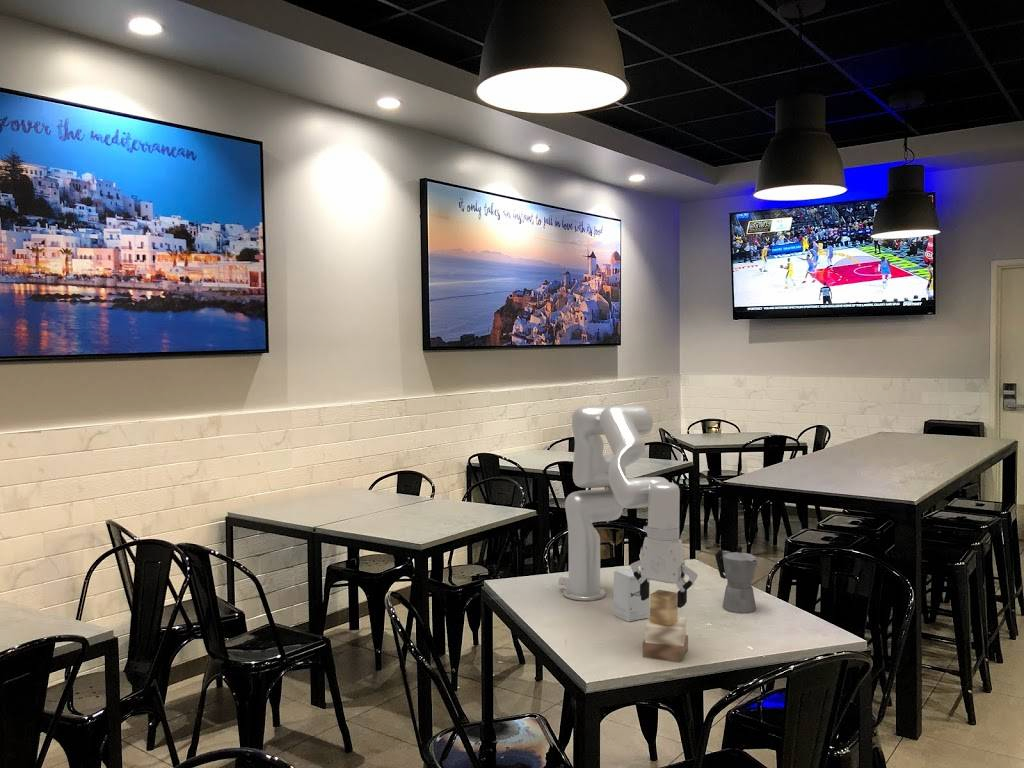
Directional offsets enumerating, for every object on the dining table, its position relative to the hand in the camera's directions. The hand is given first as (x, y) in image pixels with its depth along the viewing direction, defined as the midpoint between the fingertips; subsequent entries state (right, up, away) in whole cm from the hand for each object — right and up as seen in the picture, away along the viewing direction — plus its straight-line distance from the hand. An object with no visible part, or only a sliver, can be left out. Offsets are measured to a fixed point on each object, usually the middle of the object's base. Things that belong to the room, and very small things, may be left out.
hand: (662, 602), depth 204 cm
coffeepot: (+27, -11, +35) cm, 46 cm away
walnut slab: (0, -13, 0) cm, 13 cm away
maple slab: (+1, -9, 0) cm, 9 cm away
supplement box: (-4, -11, +28) cm, 30 cm away
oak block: (0, -5, 0) cm, 5 cm away
